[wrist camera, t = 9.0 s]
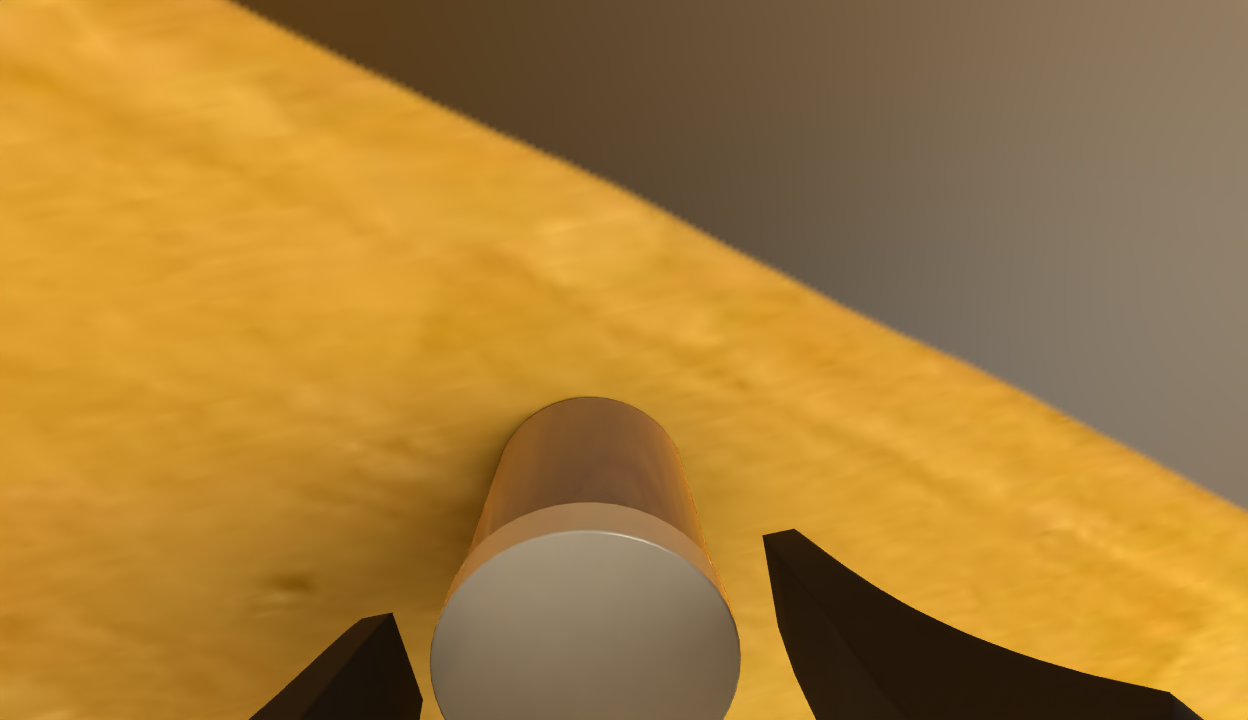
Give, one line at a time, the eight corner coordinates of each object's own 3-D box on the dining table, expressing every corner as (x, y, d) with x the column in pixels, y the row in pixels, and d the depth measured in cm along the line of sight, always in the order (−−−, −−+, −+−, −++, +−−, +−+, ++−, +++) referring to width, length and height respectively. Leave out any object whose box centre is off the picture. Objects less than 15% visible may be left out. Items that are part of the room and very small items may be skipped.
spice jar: (649, 591, 19) (678, 822, 12) (470, 540, 18) (394, 754, 11) (715, 427, 18) (789, 582, 11) (526, 366, 17) (478, 490, 10)
